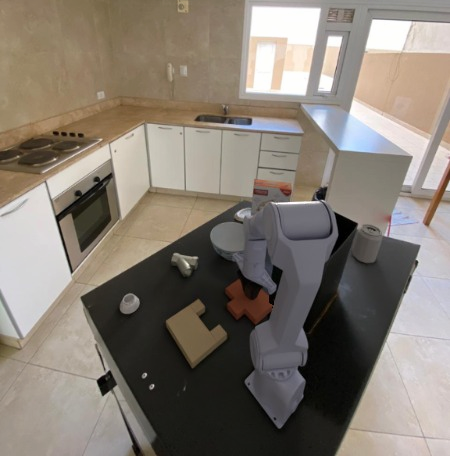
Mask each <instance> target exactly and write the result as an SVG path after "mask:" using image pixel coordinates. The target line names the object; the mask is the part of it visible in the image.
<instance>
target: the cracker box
mask: <svg viewBox="0 0 450 456" xmlns="http://www.w3.org/2000/svg"><path fill="white" fill-rule="evenodd" d="M292 192H293V188H292V183H291V182H285V181H277V180H276V181H275V180H267V179H258V178H253V189H252V197H251V207H250V216H253V215H255V213H256V212H259V211H260V208H261V207H264V206H265V204H266V203H267V202H274V203H277V202H291V198H292Z"/></svg>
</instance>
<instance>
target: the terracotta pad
mask: <svg viewBox="0 0 450 456" xmlns="http://www.w3.org/2000/svg"><path fill="white" fill-rule="evenodd" d="M250 282H251V281H250ZM250 282H249V283H250ZM249 283H248V284H246V285H245V293H244V292H243V288H242V284H241V281H240V279H239V278H238V279H237V280H236V281H234V282H232V283H231V284H230V285H228V286H227V287H225V295H226V296H227V297H228V298H229V299H230V301H228V303H227V304H226V309H227V310H228V312H229V313H230V314H231V315H232V316H233V317H234V318H235V320H239V319H240V318H241V317H242V316H244V315H245V316H246V317H247V319H249V320H250V321H251V322H252V323H253V324H254V325H255V326H257V325H258V323H259V322H260V321H262V320H263V319H264V318H266V317H267V316H268V314H270V313H271V312H272V307H273V305H272V304H270V303H269V296H270V295H269V294H268V293H266V292H265V291H264V290H263V288H262V289H261V290H260V292H259V294H258V296H257V298H255V299H254V300H251V297H250V294H251V290H250V286H249Z"/></svg>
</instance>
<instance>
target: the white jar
mask: <svg viewBox="0 0 450 456" xmlns="http://www.w3.org/2000/svg"><path fill="white" fill-rule="evenodd" d="M140 303H141V302H140V299H139V297H138V296H137V295H135V294H134V293H127V294H126V295H124V296H123V298H122V300H121V302H120V303H119V311H120V312H121V314H124V315H130V314H132V313H134V312H135V311H137V310H138V308H140Z"/></svg>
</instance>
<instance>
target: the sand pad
mask: <svg viewBox="0 0 450 456" xmlns="http://www.w3.org/2000/svg"><path fill="white" fill-rule="evenodd" d="M205 312H206V306H205V304H204V303H203V302H202V301H201V300H200V299H199V298H197V299H196V300H195V301H193V302H192V303H190V304H189V305H188V306H186V307H184V308H183V309H181V310H180V311H178V312H177V313H176V314H174V315H172V316H171V317H169V318H168V319H166V321H165V327H166V328H167V330H168V332H169V333H170V335H171V337H172V338H173V340H174V341H175V343H176V345H177V346H178V348H179V349H180V351H181V353H182V354H183V356H184V358H185V359H186V361H187V363H188V364H189V366H190V367H191V369H194V368H196V366H197V365H198V364H200V363H201V362H202V361H203V360H204V359H206V358H207V356H209V355H210V354H211V353H212V352H214V350H216V349H217V348H218V347H220V345H222V344H223V343H224V342H226V341H227V339H228V333H227V331H225V329H224V328H223V327H222V325H221V324H218V325H217V326H215V327H214V328H213V329H211V330H209V329H208V328H207V326H206V325H205V323H204V322H203V321H202V320H201V318H200V316H201V315H203V314H204V313H205Z"/></svg>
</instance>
